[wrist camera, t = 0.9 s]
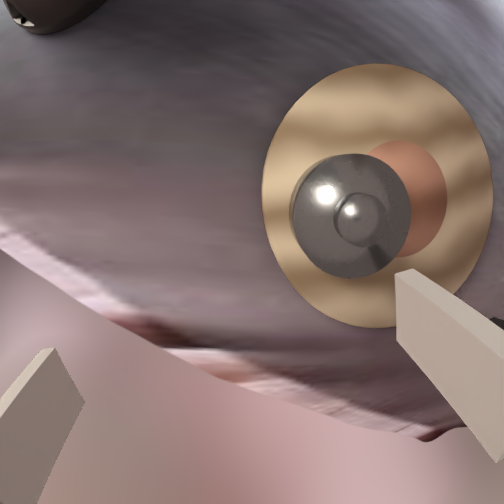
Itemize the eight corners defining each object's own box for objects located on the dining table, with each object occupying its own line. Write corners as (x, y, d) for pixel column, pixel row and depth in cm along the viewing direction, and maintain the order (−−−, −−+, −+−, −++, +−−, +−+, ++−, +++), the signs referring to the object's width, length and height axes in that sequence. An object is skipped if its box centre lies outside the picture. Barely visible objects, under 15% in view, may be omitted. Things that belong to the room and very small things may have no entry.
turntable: (232, 86, 25) (232, 61, 19) (460, 70, 25) (499, 58, 19) (290, 346, 32) (303, 387, 25) (483, 283, 32) (518, 303, 25)
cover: (277, 166, 25) (285, 165, 21) (385, 147, 25) (410, 145, 21) (300, 278, 28) (311, 298, 24) (400, 253, 28) (423, 267, 24)
